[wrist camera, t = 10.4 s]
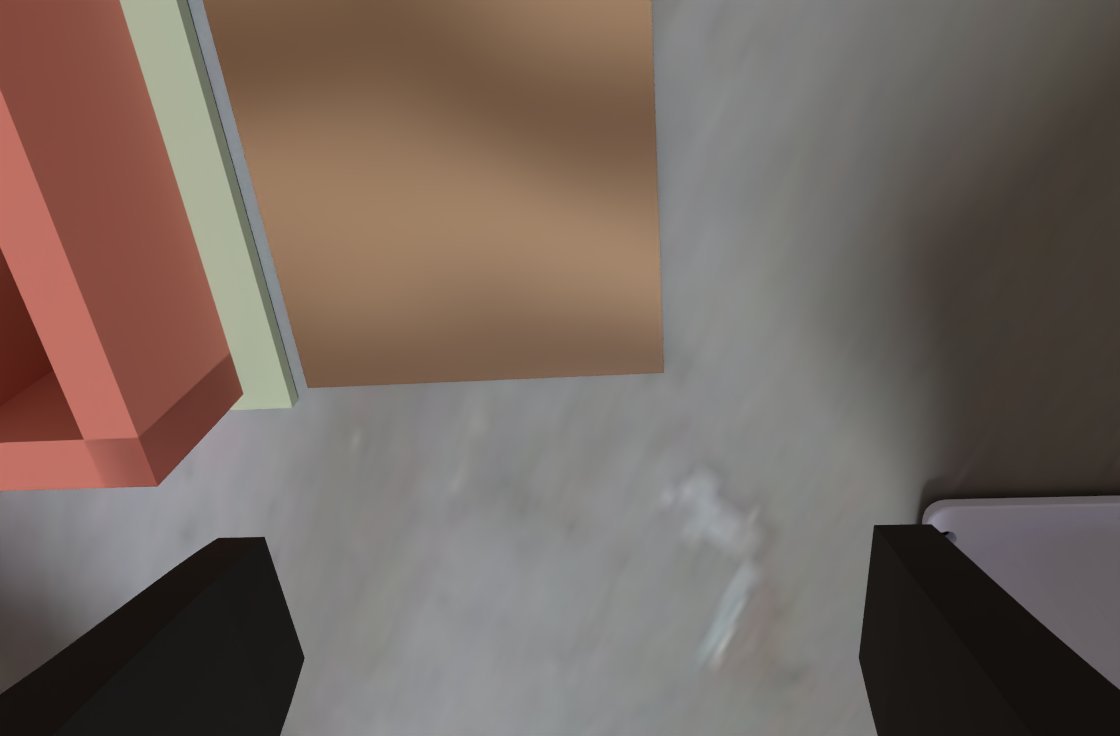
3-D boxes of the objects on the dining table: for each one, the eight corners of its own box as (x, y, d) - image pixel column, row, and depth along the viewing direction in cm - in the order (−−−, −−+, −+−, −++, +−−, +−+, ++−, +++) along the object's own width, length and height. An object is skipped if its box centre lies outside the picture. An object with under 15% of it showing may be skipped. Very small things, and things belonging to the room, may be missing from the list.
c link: (243, 394, 20) (157, 486, 16) (43, 402, 20) (-82, 493, 17) (104, -49, 15) (-57, -56, 12) (-147, -20, 16) (-373, -19, 12)
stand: (663, 367, 19) (674, 497, 14) (312, 382, 20) (212, 509, 15) (637, -399, 12) (639, -628, 8) (125, -318, 13) (-146, -477, 9)
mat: (298, 400, 20) (292, 407, 20) (20, 411, 21) (9, 418, 21) (163, -86, 15) (151, -87, 15) (-193, -42, 16) (-212, -44, 16)
